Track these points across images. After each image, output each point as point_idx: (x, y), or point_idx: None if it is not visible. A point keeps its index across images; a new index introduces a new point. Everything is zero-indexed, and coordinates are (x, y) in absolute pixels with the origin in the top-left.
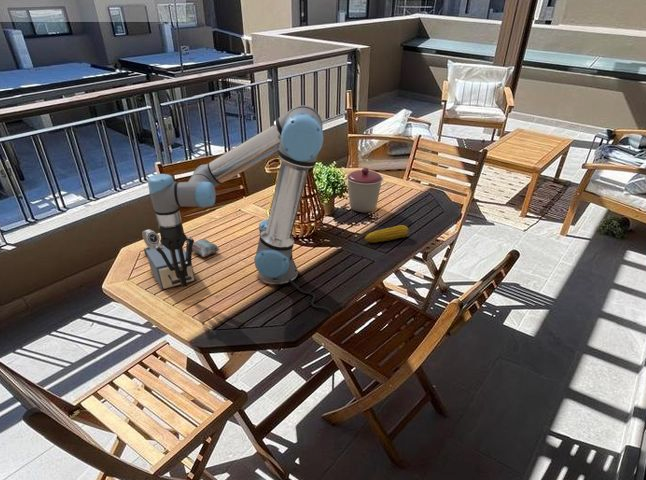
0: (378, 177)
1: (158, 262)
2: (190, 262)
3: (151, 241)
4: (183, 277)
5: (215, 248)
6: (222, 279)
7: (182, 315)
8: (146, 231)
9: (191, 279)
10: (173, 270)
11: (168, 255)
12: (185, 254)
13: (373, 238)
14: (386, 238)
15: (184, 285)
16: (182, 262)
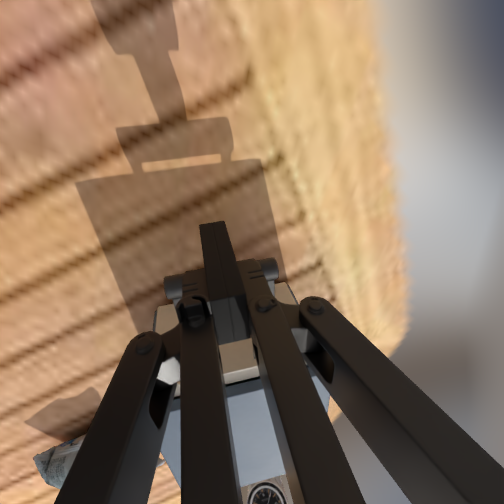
0: None
1: None
2: (125, 366)
3: (274, 492)
4: (217, 257)
5: (49, 463)
6: (16, 290)
7: (263, 28)
8: None
9: (168, 309)
10: (248, 349)
11: (250, 440)
12: (169, 446)
13: None
14: None
15: (215, 225)
16: (211, 368)
